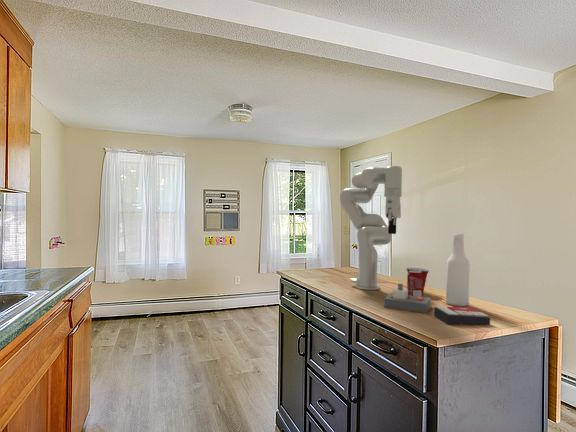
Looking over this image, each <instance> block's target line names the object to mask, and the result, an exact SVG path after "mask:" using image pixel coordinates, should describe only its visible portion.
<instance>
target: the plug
mask: <svg viewBox="0 0 576 432" xmlns="http://www.w3.org/2000/svg"><path fill="white" fill-rule="evenodd" d="M403 285H404V284H403V283H400V282H399V283H397V287H395V288H393V289H392V293H393V298H396V299H404V300H407V299H408V289H407V288H403V287H404V286H403Z"/></svg>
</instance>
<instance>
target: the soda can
mask: <svg viewBox="0 0 576 432" xmlns="http://www.w3.org/2000/svg"><path fill="white" fill-rule="evenodd" d="M406 275H407V277H406V279H407V280H406V289H408V295H410V296H418V297H423V294H424V292H423V275H422V273H421V271H416V270H410V271H409V273H408V272H407V274H406Z"/></svg>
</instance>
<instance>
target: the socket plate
mask: <svg viewBox="0 0 576 432" xmlns="http://www.w3.org/2000/svg"><path fill="white" fill-rule="evenodd" d="M383 299H384V301H383V305H384V306H383V307H384V308H386V309H387V308H388V309H395V310H401V311H402V310H403V311H408V312H416V313H422V314H426V313H427V312H428V311H429V309H430V308H431V307H432V305H431V304H432V297H427V296H426V297H425V296H424V297H423V296H422V297H418V296H410V295H408V299H407V300H404V299H396V298H393V292H392V293H390V294H388V295H387V296H385V298H383Z"/></svg>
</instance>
